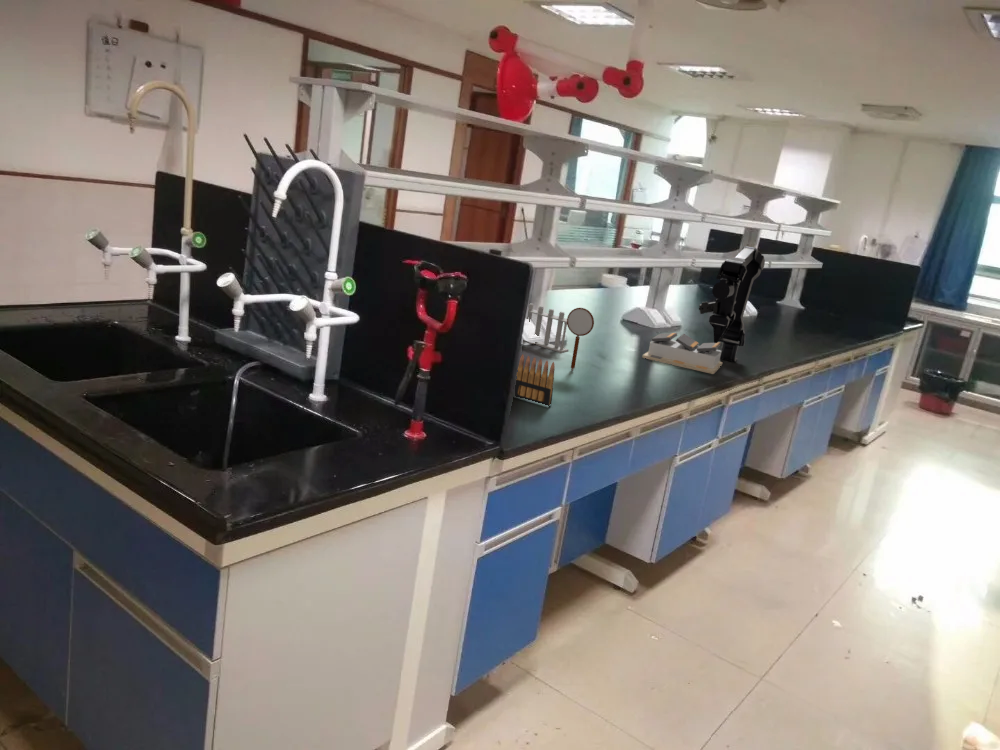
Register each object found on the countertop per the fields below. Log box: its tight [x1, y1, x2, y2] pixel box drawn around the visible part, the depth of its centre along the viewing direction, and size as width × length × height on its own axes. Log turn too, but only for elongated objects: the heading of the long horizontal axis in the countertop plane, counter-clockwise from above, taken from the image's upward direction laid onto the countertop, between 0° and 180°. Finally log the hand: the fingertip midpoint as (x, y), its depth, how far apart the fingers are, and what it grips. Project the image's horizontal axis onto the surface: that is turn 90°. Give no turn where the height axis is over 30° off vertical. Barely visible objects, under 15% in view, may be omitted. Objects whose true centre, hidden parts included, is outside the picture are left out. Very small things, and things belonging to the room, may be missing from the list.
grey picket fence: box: [526, 302, 569, 354], centre depth 260 cm, size 25×4×13 cm, turn 51°
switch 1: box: [651, 332, 678, 342], centre depth 267 cm, size 12×6×1 cm, turn 155°
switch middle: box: [675, 333, 700, 351], centre depth 264 cm, size 12×6×1 cm, turn 155°
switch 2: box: [697, 341, 722, 351], centre depth 261 cm, size 12×6×1 cm, turn 155°
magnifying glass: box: [566, 307, 595, 372], centre depth 229 cm, size 9×2×20 cm, turn 63°
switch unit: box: [641, 339, 723, 375], centre depth 265 cm, size 18×25×6 cm
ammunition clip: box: [515, 353, 556, 406], centre depth 193 cm, size 11×2×12 cm, turn 62°
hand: (717, 340), depth 260 cm, fingers open, 9 cm apart
